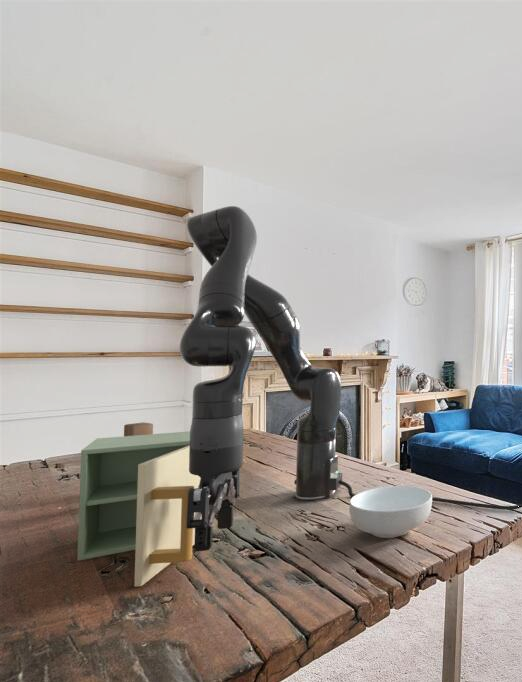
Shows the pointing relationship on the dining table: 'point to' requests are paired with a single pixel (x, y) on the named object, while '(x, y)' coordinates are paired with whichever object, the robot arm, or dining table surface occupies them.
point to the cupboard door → (163, 514)
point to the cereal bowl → (390, 510)
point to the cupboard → (115, 489)
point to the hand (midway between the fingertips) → (214, 538)
